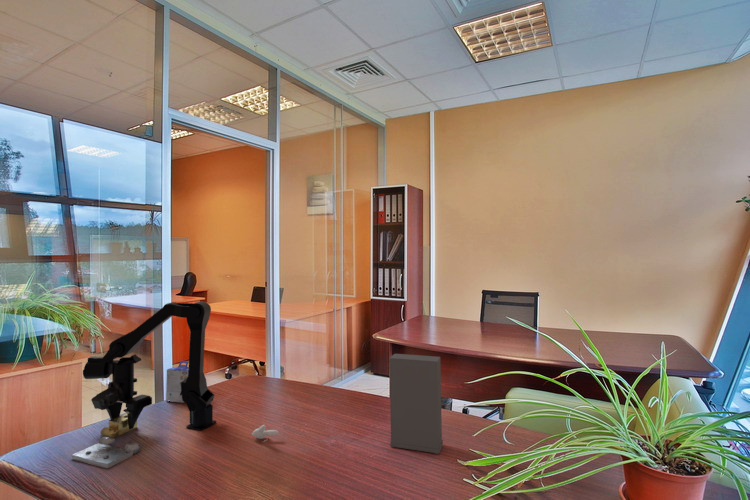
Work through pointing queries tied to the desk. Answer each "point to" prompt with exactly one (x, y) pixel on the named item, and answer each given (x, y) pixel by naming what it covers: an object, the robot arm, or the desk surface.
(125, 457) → the steel leaf
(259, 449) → the desk surface
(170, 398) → the ink cartridge box
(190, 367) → the robot arm
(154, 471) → the desk surface
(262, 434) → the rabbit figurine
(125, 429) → the brass leaf
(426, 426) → the upright charcoal grey block
